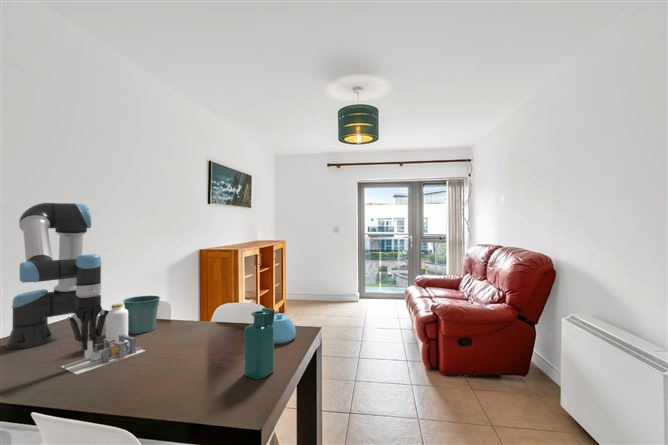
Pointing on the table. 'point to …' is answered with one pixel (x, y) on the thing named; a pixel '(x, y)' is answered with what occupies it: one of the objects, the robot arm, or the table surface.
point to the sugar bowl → (283, 329)
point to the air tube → (112, 352)
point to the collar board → (106, 355)
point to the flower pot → (141, 313)
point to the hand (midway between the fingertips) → (88, 357)
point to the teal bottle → (259, 345)
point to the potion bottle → (117, 322)
